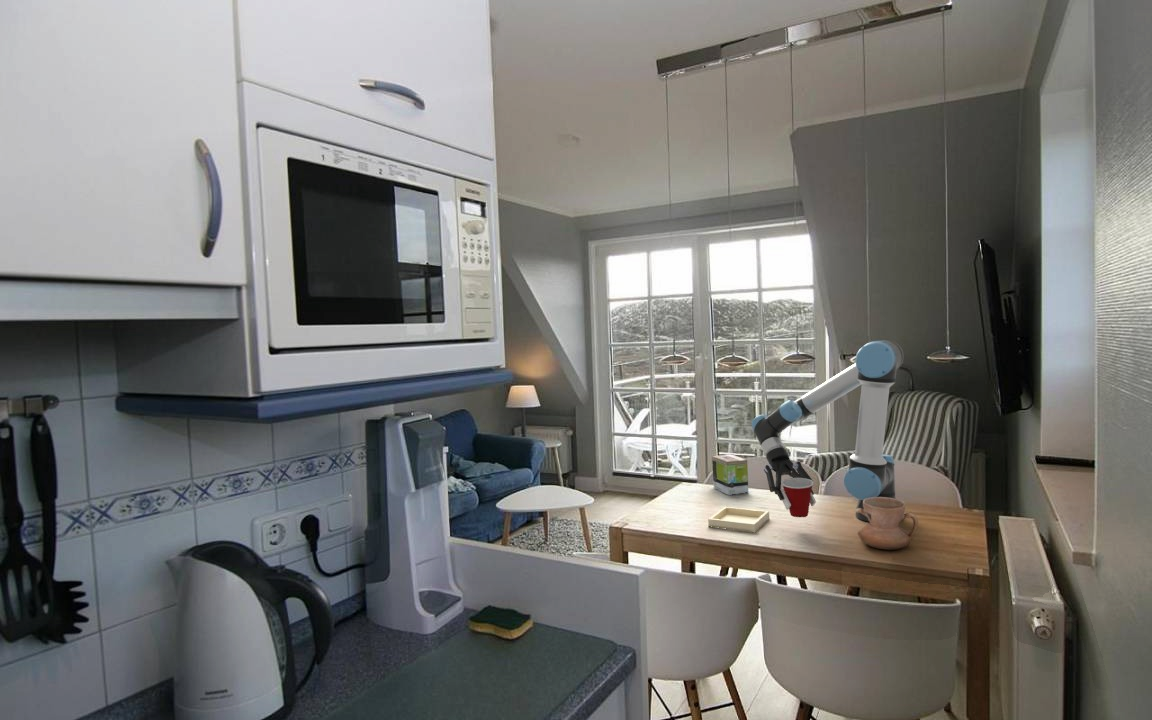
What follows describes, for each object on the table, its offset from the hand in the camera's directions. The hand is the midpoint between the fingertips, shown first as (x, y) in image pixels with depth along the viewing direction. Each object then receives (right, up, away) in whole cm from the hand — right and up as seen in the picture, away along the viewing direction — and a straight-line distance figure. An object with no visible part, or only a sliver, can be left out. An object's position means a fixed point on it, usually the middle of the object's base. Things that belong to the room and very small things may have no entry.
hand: (801, 505), depth 221 cm
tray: (-18, -10, +14) cm, 25 cm away
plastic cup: (0, -4, +2) cm, 4 cm away
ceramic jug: (+21, -9, -18) cm, 29 cm away
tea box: (-10, -7, +60) cm, 62 cm away
